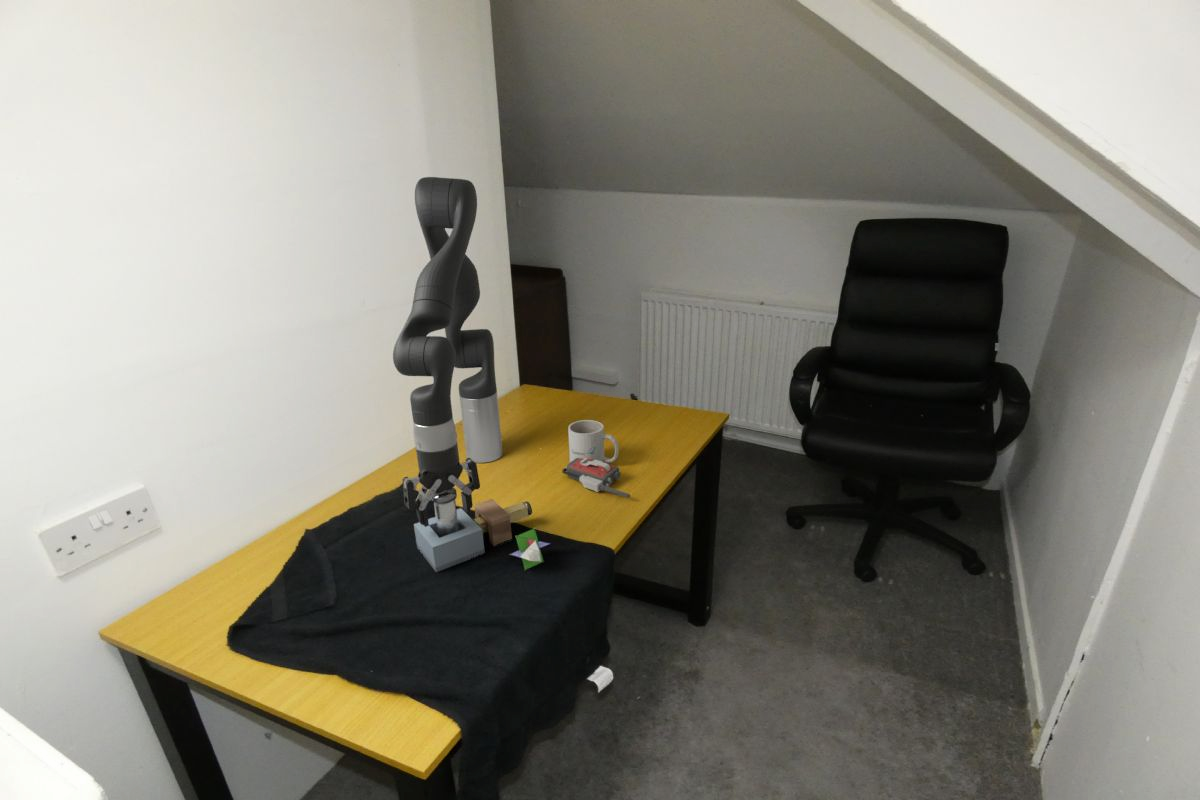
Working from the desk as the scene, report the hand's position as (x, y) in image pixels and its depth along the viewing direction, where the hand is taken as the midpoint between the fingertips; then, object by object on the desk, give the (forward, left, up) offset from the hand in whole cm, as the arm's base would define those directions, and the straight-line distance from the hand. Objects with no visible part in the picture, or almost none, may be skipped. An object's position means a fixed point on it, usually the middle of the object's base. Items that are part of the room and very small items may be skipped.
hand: (446, 517), depth 127 cm
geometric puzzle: (+13, +11, -8) cm, 19 cm away
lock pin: (0, +12, -6) cm, 13 cm away
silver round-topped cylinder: (0, 0, -7) cm, 7 cm away
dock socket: (0, 0, -8) cm, 8 cm away
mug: (-13, +43, -8) cm, 46 cm away
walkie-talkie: (-4, +39, -8) cm, 40 cm away
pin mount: (0, +10, -8) cm, 12 cm away
